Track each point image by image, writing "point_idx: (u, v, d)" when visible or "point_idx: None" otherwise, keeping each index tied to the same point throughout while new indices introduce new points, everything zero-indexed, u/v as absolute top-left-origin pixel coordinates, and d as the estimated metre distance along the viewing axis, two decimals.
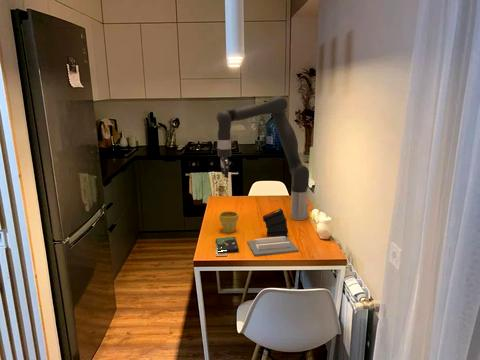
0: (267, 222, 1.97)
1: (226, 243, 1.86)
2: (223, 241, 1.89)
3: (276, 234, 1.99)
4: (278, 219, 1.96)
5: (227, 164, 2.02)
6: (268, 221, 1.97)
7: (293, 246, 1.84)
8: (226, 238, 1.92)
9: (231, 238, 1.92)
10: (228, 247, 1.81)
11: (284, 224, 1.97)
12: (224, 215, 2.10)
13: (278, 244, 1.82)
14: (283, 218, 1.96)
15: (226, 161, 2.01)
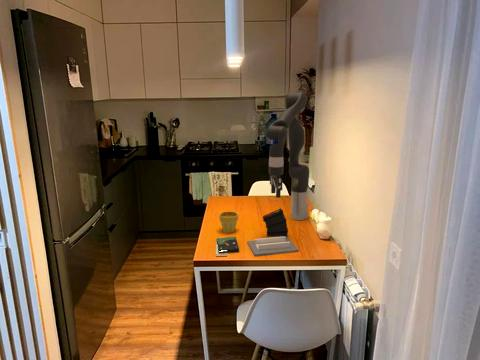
0: (267, 222, 1.97)
1: (227, 243, 1.86)
2: (223, 241, 1.89)
3: (276, 234, 1.99)
4: (278, 219, 1.96)
5: (280, 183, 1.86)
6: (268, 221, 1.97)
7: (293, 246, 1.84)
8: (227, 238, 1.92)
9: (232, 238, 1.92)
10: (228, 247, 1.81)
11: (284, 224, 1.97)
12: (224, 215, 2.10)
13: (278, 244, 1.82)
14: (283, 218, 1.96)
15: (279, 180, 1.86)
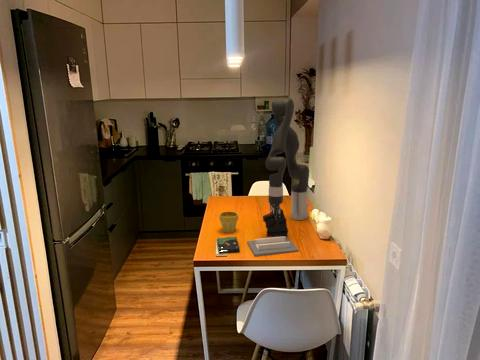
0: (267, 222, 1.97)
1: (228, 243, 1.86)
2: (224, 241, 1.89)
3: (276, 234, 1.99)
4: None
5: (279, 214, 1.91)
6: (268, 221, 1.97)
7: (293, 246, 1.84)
8: (227, 238, 1.92)
9: (232, 238, 1.92)
10: (229, 247, 1.81)
11: (284, 224, 1.97)
12: (224, 215, 2.10)
13: (278, 244, 1.82)
14: (283, 218, 1.96)
15: (279, 212, 1.90)
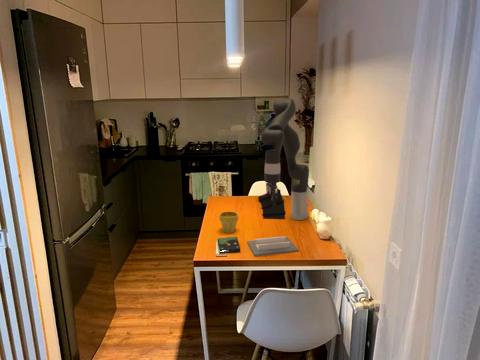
0: (263, 203, 1.79)
1: (228, 243, 1.86)
2: (225, 241, 1.89)
3: (273, 216, 1.80)
4: None
5: (276, 194, 1.73)
6: (264, 202, 1.79)
7: (293, 246, 1.84)
8: (228, 238, 1.92)
9: (233, 238, 1.92)
10: (230, 247, 1.81)
11: (281, 205, 1.79)
12: (224, 215, 2.10)
13: (278, 244, 1.82)
14: (280, 198, 1.78)
15: (275, 191, 1.72)
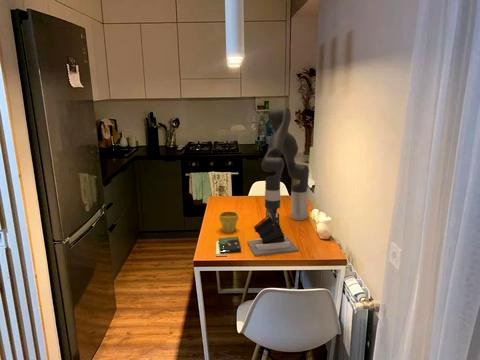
0: (260, 232, 1.82)
1: (229, 243, 1.86)
2: (225, 241, 1.89)
3: (273, 242, 1.83)
4: (271, 225, 1.81)
5: (277, 218, 1.75)
6: (261, 230, 1.81)
7: (293, 246, 1.84)
8: (229, 238, 1.92)
9: (234, 238, 1.92)
10: (230, 247, 1.81)
11: (278, 229, 1.81)
12: (224, 215, 2.10)
13: (278, 244, 1.82)
14: None
15: (276, 215, 1.75)
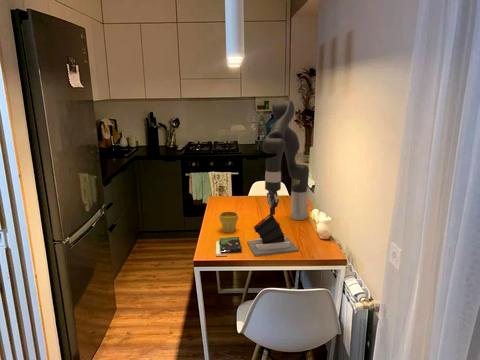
0: (260, 232, 1.81)
1: (230, 243, 1.86)
2: (226, 241, 1.89)
3: (273, 242, 1.83)
4: (271, 226, 1.81)
5: (276, 203, 1.75)
6: (261, 231, 1.81)
7: (293, 246, 1.84)
8: (230, 238, 1.92)
9: (235, 238, 1.92)
10: (231, 247, 1.81)
11: (278, 229, 1.81)
12: (224, 215, 2.10)
13: (278, 244, 1.82)
14: (276, 223, 1.81)
15: (276, 201, 1.74)
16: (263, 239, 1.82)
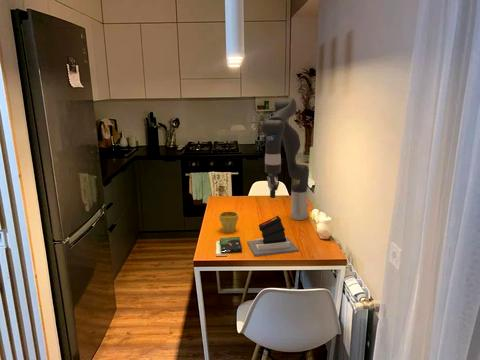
0: (264, 231, 1.82)
1: (230, 243, 1.86)
2: (227, 241, 1.89)
3: None
4: (276, 227, 1.82)
5: (276, 186, 1.73)
6: (265, 230, 1.81)
7: (293, 246, 1.84)
8: (230, 238, 1.92)
9: (235, 238, 1.92)
10: (231, 247, 1.81)
11: (282, 232, 1.83)
12: (224, 215, 2.10)
13: (278, 244, 1.82)
14: (281, 226, 1.82)
15: (276, 184, 1.72)
16: (265, 239, 1.83)
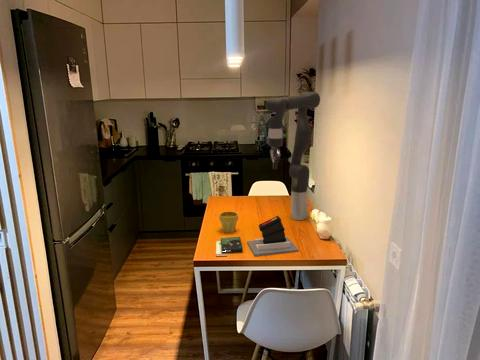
0: (264, 231, 1.82)
1: (231, 243, 1.86)
2: (227, 241, 1.89)
3: None
4: (276, 227, 1.82)
5: (278, 157, 1.93)
6: (265, 230, 1.81)
7: (293, 246, 1.84)
8: (231, 238, 1.92)
9: (236, 238, 1.92)
10: (232, 247, 1.81)
11: (282, 232, 1.83)
12: (224, 215, 2.10)
13: (278, 244, 1.82)
14: (281, 226, 1.82)
15: (278, 155, 1.92)
16: (265, 239, 1.83)
